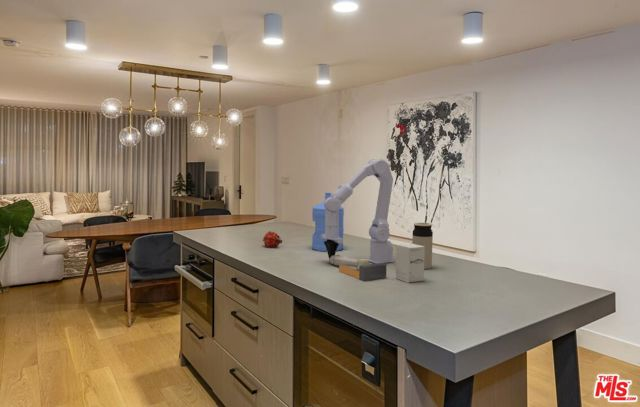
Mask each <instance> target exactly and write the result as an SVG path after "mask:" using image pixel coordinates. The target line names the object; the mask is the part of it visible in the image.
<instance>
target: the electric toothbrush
mask: <svg viewBox="0 0 640 407" xmlns="http://www.w3.org/2000/svg"><path fill="white" fill-rule="evenodd" d="M368 259H369V258H361V259H359V258H353V257H348V256H343V255H340V254H335V255H332V256H330V258H329V257H328V263H329V264H330V265H332V266H333V265H334V266H335V267H336V266H338V267H339V265H344V266H347V267H350V268H355V270H358V271H359V266H361V265H369V264H370V262H369V261H368Z"/></svg>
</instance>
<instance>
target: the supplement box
mask: <svg viewBox="0 0 640 407" xmlns="http://www.w3.org/2000/svg"><path fill="white" fill-rule="evenodd" d="M424 255H425V247H424V246H420V245H416V244H412V243H404V244H396V256H395V257H396V261H395V262H396V263H395V279H397V280H400V281H402V282H405V283H409V284H410V283H414V282H424V280H425V269H424Z"/></svg>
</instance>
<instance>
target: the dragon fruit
mask: <svg viewBox="0 0 640 407" xmlns="http://www.w3.org/2000/svg"><path fill="white" fill-rule="evenodd" d="M262 242H264V247H269V248H272V249H273V248H275V247H278V246H279V245H280V244H282V243H283V240H282V238H281V236H279V235H278V233H276V232H275V231H272V230H271V231H268V232H266V233H265V234H264V236H263V239H262Z"/></svg>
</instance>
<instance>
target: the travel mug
mask: <svg viewBox="0 0 640 407" xmlns="http://www.w3.org/2000/svg"><path fill="white" fill-rule="evenodd" d="M413 226H414V228H413V230H412V239H411V241H412V243H411V244H416V245H420V246H424V247H425V255H424V270H429V269H432V267H433V234H434V232H433V230H432V226H433V224H432V223H429V222H414V223H413Z"/></svg>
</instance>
